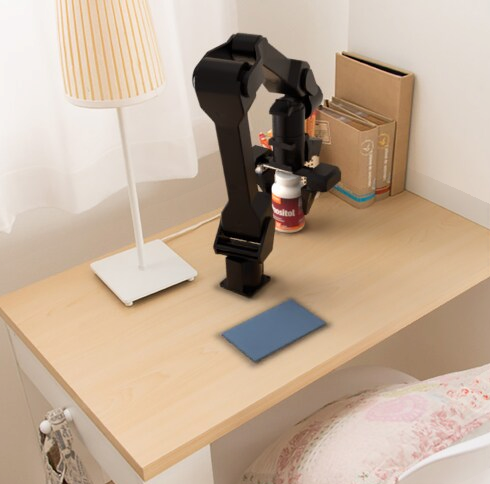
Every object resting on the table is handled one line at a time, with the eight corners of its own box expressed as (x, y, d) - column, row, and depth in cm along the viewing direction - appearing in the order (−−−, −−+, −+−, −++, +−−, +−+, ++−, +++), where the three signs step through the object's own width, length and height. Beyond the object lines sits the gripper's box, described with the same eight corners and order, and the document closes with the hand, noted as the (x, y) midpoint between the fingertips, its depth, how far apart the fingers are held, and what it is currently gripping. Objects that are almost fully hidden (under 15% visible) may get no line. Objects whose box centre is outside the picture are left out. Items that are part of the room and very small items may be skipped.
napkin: (255, 362, 110) (255, 360, 109) (221, 335, 115) (221, 333, 115) (325, 324, 117) (325, 322, 116) (291, 300, 122) (291, 298, 122)
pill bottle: (266, 229, 141) (265, 176, 134) (281, 214, 145) (280, 163, 139) (296, 237, 138) (296, 183, 132) (310, 221, 143) (311, 169, 136)
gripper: (357, 125, 132) (354, 203, 141) (269, 105, 140) (271, 180, 149) (326, 149, 124) (324, 229, 133) (234, 126, 133) (239, 203, 142)
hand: (289, 209), depth 140 cm, fingers closed on pill bottle, 7 cm apart
